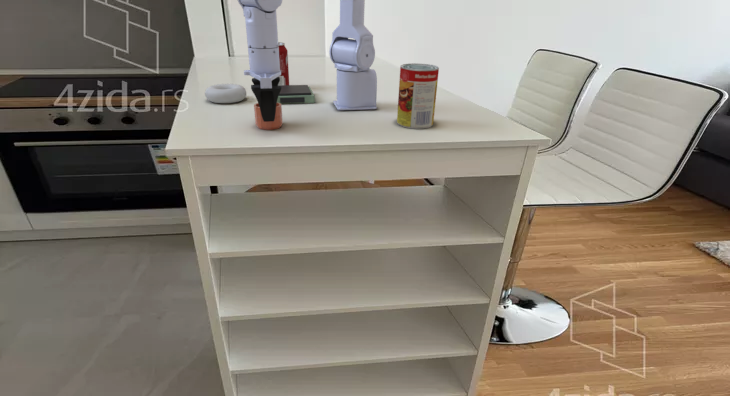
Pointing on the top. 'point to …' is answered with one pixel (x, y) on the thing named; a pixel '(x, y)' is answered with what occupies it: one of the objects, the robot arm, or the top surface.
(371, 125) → the top surface
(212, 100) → the donut
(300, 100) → the scale
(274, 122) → the orange cup
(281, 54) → the soda can
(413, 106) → the canned food
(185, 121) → the top surface
